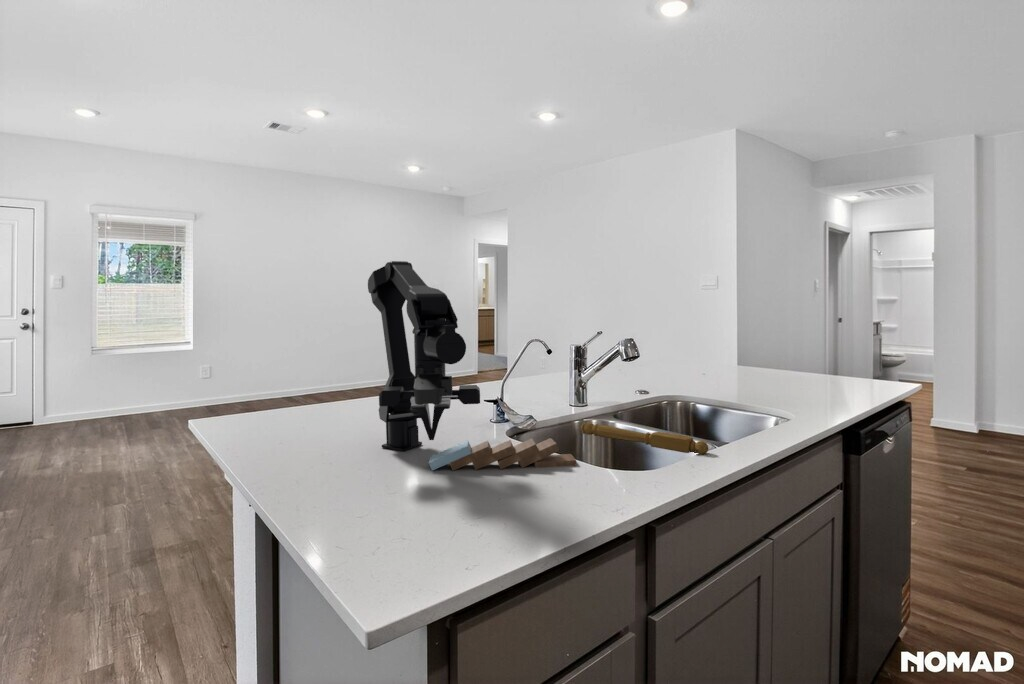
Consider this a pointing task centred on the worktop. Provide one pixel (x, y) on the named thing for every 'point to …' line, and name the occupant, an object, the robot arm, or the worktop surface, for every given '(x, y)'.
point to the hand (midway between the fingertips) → (431, 439)
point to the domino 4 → (519, 453)
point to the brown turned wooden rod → (648, 438)
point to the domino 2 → (472, 455)
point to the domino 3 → (495, 454)
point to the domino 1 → (450, 455)
